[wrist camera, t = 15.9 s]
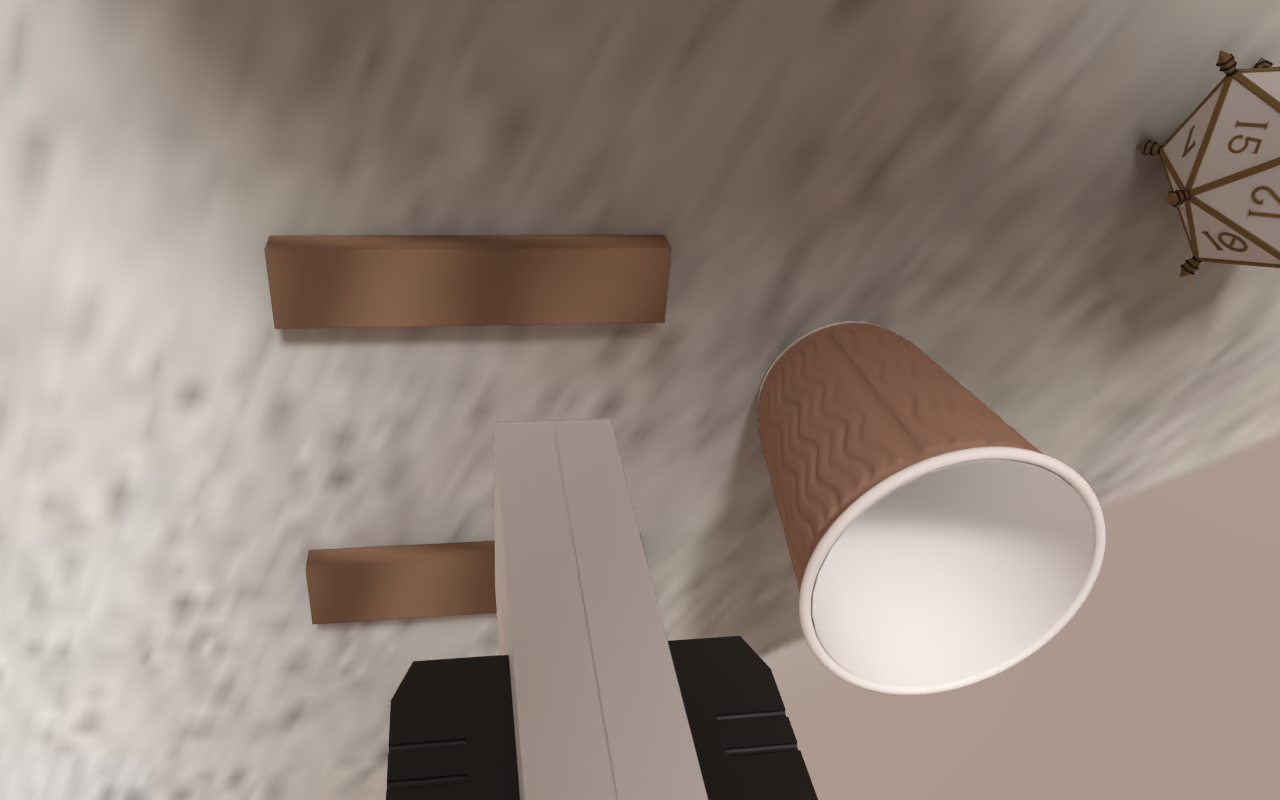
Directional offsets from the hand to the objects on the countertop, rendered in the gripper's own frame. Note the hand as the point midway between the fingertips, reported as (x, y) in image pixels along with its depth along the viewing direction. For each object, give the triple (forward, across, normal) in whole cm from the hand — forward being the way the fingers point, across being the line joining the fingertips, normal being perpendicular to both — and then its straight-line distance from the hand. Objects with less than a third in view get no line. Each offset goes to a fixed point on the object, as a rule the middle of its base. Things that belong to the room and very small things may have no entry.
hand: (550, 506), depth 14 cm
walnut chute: (+24, 0, -15) cm, 29 cm away
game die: (+25, +28, -2) cm, 37 cm away
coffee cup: (+25, +14, -13) cm, 31 cm away
